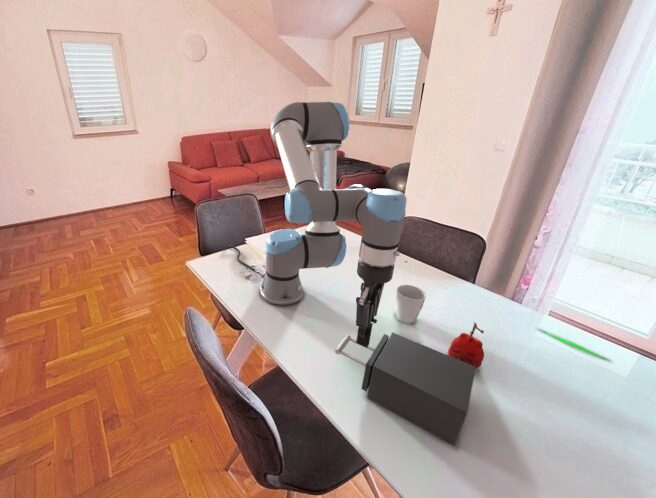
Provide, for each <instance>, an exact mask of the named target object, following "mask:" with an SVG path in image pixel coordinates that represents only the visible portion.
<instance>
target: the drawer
mask: <svg viewBox="0 0 656 498" xmlns="http://www.w3.org/2000/svg"><path fill="white" fill-rule="evenodd" d="M389 337H390V335H388V334H386V333H383V335H382V336H381V339H380V340H379V341H378V343H377V345H376V347H373V346H370V345H368V347H367V348H366V347H364V348H365V349H367V350H369V351H371V352H372V353H371V355H370V357H369V358H368V360H367V362H366V361H363V360H361V359H359V358H358V357H355V356H353V355H351V354H350V353H347V352H346V351H343V350H344V349H345V348H346V346H347V345H348V344H349V342H352V343H354V344H357V343H356V341H357V339H355V338H353V337H352V336H351V335H350V334H346V335H345V336H344V338H343V339H342V340H341V342H339V344H338V345H337V347H336V348H335V350H334V352H335V354H336V355H342V356H344V357H346V358H348V359H350V360H351V361H353V362H356V363H357V364H360V365H363V366H364V371H363V372H364V373H363V378H362V383H361V390H363V391H364V392H368V390H369V385H370V380H371V374H372V369H373V365H374V364H375V362H376V360H377V358H378V357H379V355H380V353H381V351H382V350H383V348H384V346H385V344H386V343H387V341H388V339H389ZM357 345H359V344H357ZM359 346H360V345H359Z"/></svg>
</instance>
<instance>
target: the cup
mask: <svg viewBox="0 0 656 498" xmlns="http://www.w3.org/2000/svg"><path fill="white" fill-rule="evenodd" d="M426 298H427V294H426V292H425V291H424V290H423V289H422V288H420V287H418V286H415V285H411V284H401V285H399V286H397V288H396V294H395V314H396V318H397V320H398V321H400V322H401V323H403V324H412V323H414V322H415V321H416V319H417V318H418V317H419V314H420V313H421V310H422V309H423V306H424V303H425V300H426Z"/></svg>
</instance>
